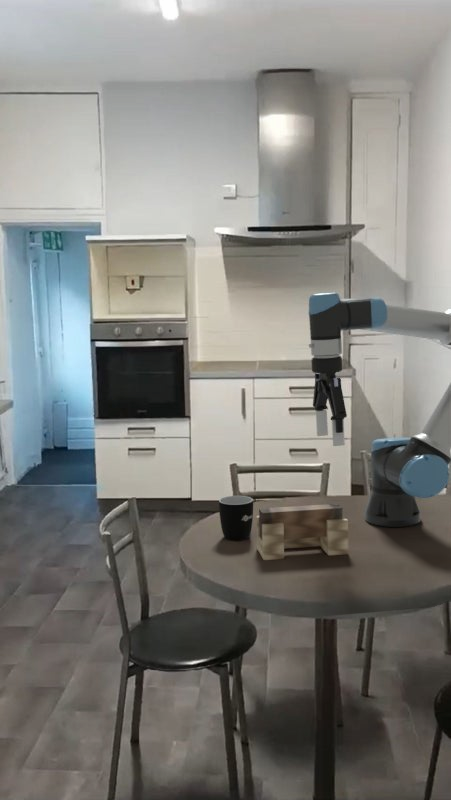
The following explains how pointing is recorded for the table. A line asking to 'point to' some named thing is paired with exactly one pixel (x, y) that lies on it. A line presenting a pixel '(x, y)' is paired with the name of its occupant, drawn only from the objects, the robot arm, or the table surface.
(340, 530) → the posts
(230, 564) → the table surface
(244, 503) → the mug
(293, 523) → the brown rectangular block
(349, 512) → the table surface
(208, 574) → the table surface
